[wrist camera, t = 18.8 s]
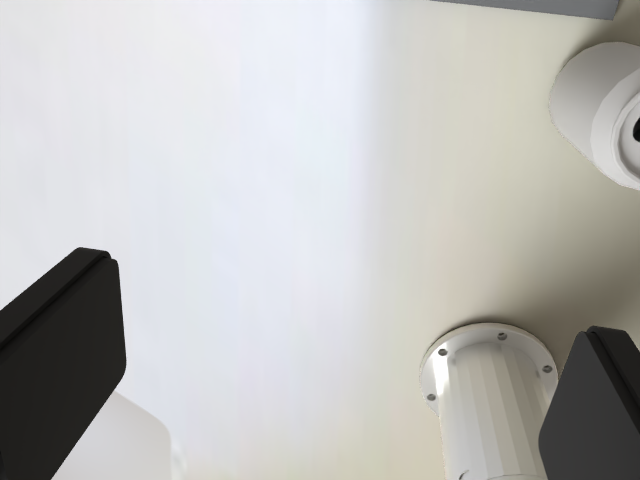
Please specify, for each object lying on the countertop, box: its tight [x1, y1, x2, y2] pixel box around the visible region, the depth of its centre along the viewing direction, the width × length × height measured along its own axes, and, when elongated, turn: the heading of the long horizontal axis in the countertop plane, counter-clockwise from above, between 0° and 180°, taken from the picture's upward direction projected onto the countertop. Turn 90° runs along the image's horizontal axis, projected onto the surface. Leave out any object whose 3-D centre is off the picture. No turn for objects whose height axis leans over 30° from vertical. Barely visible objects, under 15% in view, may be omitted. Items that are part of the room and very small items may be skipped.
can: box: [549, 41, 640, 190], centre depth 34 cm, size 8×8×12 cm
